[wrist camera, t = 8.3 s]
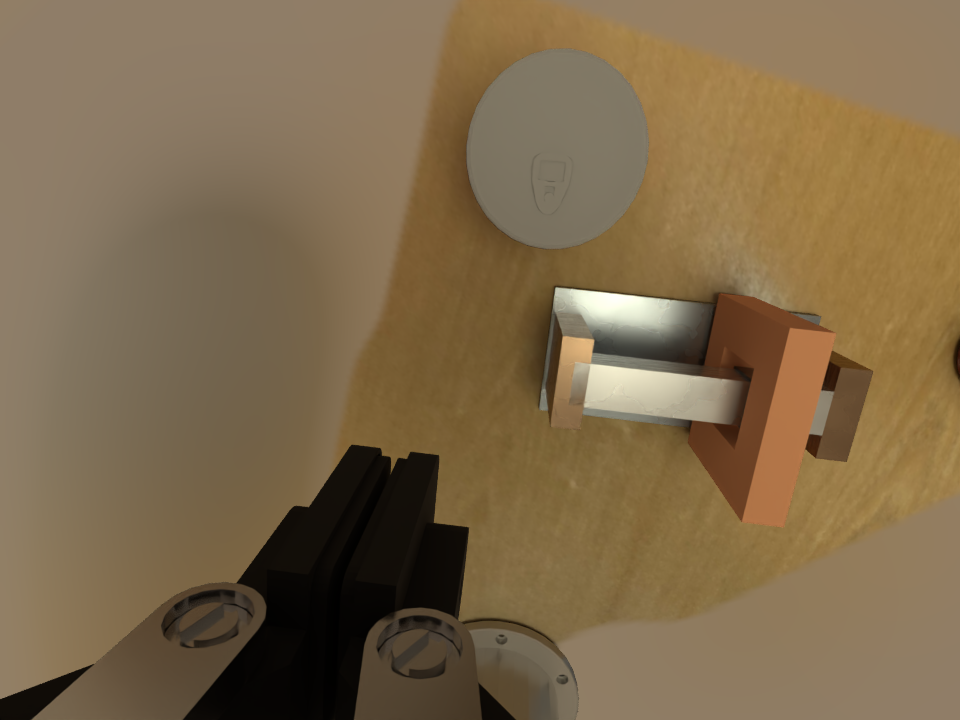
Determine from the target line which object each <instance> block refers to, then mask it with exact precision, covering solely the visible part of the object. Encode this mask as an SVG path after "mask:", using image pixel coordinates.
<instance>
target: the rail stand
mask: <svg viewBox="0 0 960 720" xmlns="http://www.w3.org/2000/svg"><path fill="white" fill-rule="evenodd" d="M716 307H717V304H715V303H706V302H696V301H687V300H678V299H669V298H660V297H651V296H642V295H633V294H624V293H615V292H606V291H596V290H587V289H578V288H569V287H560V286H555V291H554V299H553V306H552V313H551V321H550V328H549V336H548V343H547V350H546V358H545V365H544V372H543V380H542V387H541V394H540V402H539V410H546V411H548V414H549V422H550V427H556V428H565V429H573V430H580V427H581V421H582V415H588V416H597V417H605V418H614V419H622V420H631V421H639V422H647V423H656V424H664V425H673V426H681V427H690V428H691V425H692V420H695V421H703V422H712V423H720V424H729V425H737V426H738V427H739V428H740V426H741V422H742V418H743V413H744V409H745V405H746V401H747V396H748V392H749V388H750V384H751V379H752V375H753V371H754V369H753V368H749V367H740V366H734V369H729V368H720V367H711V366H704V364H705V359H706V354H707V350H708V345H709V340H710V335H711V331H712V326H713V321H714V317H715V312H716ZM789 313H791V314H794V315H796V316H798V317H801V318H803V319H805V320H807V321H810V322H812V323H814V324H817V325H819V323H820V319H821V316H818V315H815V314H805V313H796V312H789ZM872 374H873V371H872V370H870V369H868V368H866V367H864V366H862V365H860V364H858V363H856V362H854V361H852V360H850V359H848V358H846V357H844V356H842V355H840V354H838V353H836V352H834V351H832V352H831V355H830V359H829V363H828V366H827V370H826V374H825V378H824V381H823V385H822V389H821V392H820V396H819V400H818V403H817V407H816V411H815V414H814V418H813V422H812V425H811V429H810V433H809V437H808V440H807V444H806V448H805V449H806V450H807V451H808V452H809V453H810V454H812V455H813V456H814V457H815V458H818V459H826V460H835V461H843V462H847V459H848V456H849V452H850V449H851V446H852V442H853V439H854V435H855V432H856V429H857V425H858V422H859V418H860V415H861V412H862V408H863V405H864V401H865V398H866V395H867V391H868V388H869V384H870V381H871V378H872Z"/></svg>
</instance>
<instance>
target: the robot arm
mask: <svg viewBox="0 0 960 720" xmlns="http://www.w3.org/2000/svg"><path fill="white" fill-rule="evenodd" d="M438 469H439V455H433V454H424V453H416V452H410V454H409V456H408V458H407V459H403V458H398V460H397V462H396V464H395V466H394V468H393V470H392V472H391V458H390V457H387V456H382V451H381V448H375V447H367V446H359V445H351V446H350V447H349V449H348V450H347V452H346V453H345V455H344V456H343V458H342V459H341V461H340V462H339V464H338V465H337V467H336V468H335V470H334V471H333V473H332V474H331V475H330V477H329V478H328V480H327V481H326V483H325V484H324V486H323V487H322V489H321V490H320V492H319V493H318V495H317V496H316V498H315V499H314V501H313V502H312V504H311V505H310V506H309V507H302V506H294V507H293V508H292V509H291V510H290V511H289V512H288V514H287V515H286V516H285V518H284V519H283V520H282V522H281V523H280V525H279V526H278V527H277V529H276V530H275V531H274V533H273V534H272V535H271V537H270V538H269V539H268V541H267V542H266V544H265V545H264V546H263V548H262V549H261V550H260V552H259V553H258V555H257V556H256V557H255V559H254V560H253V561H252V563H251V564H250V565H249V567H248V568H247V569H246V571H245V572H244V574H243V575H242V576H241V578H240V579H239V580H238V582H237V583H228V582H222V583H209V584H205V585H201V586H197V587H193V588H190V589H188V590H185V591H183V592H181V593H179V594H176V595H175V596H173V597H172V598H170V599H169V600H168V601H166V602H165V603H163V604H162V605H161V606H160V607H158V608H157V609H156V610H155V611H154V612H153V613H152V614H150V615H149V616H148V617H147V618H146V619H145V620H144V621H143V622H141V623H140V624H139V625H138V626H137V627H136V628H135V629H134V630H132V631H131V632H130V633H129V634H128V635H127V636H126V637H124V638H123V639H122V640H121V641H120V642H119V643H118V644H117V645H115V646H114V647H113V648H112V649H111V650H110V651H109V652H107V653H106V654H105V655H104V656H103V657H102V658H101V659H100V660H98V661H97V662H96V663H95V664H93V665H90V666H88V667H85V668H82V669H79V670H77V671H74V672H71V673H69V674H66V675H64V676H61V677H58V678H56V679H53V680H50V681H47V682H45V683H42V684H40V685H37V686H34V687H32V688H29V689H26V690H24V691H21V692H18V693H16V694H13V695H11V696H8V697H5V698H2V699H0V720H575V719H576V715H577V712H578V700H579V697H578V688H577V682H576V678H575V675H574V672H573V669H572V667H571V666H570V664H569V662H568V660H567V658H566V657H565V656H564V655H563V653H562V652H561V651H560V650H559V649H558V648H557V646H555V645H554V644H553V643H552V642H550V641H549V640H548V639H547V638H545V637H544V636H542V635H540V634H538V633H537V632H535V631H533V630H531V629H528V628H525V627H523V626H520V625H517V624H513V623H507V622H501V621H479V622H473V623H467V624H464V625H463V623H461V622H460V621H458V617H459V610H460V603H461V595H462V587H463V579H464V570H465V561H466V552H467V543H468V532H469V527H461V526H454V525H446V524H438V523H434V514H435V502H436V491H437V480H438ZM390 473H391V475H390Z"/></svg>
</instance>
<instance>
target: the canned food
mask: <svg viewBox="0 0 960 720" xmlns="http://www.w3.org/2000/svg"><path fill="white" fill-rule="evenodd" d="M648 147H649V138H648V129H647V121H646V118H645V115H644V111H643V108H642V105H641V102H640V100H639V99H638V97H637V95H636V93H635V91H634V89H633V88H632V86H631V85H630V83H629V82H628V81H627V80H626V79H625V78H624V76H623V75H622V74H621V73H620V72H619V71H618V70H617V69H616V68H614V67H613V66H612V65H610V64H609V63H608V62H606V61H605V60H603V59H601V58H599V57H597V56H595V55H592V54H590V53H588V52H584V51H579V50H574V49H549V50H545V51H541V52H537V53H533V54H531V55H529V56H527V57H524V58H522V59H520V60H518V61H516V62H515V63H513V64H512V65H511V66H510V67H508V68H507V69H506V70H504V71H503V72H502V73H501V74H499V76H498V77H497V78H496V79H495V80H494V81H493V83H492V84H491V85H490V86H489V87H488V88H487V90H486V91H485V93H484V95H483V96H482V98H481V100H480V102H479V103H478V105H477V107H476V110H475V113H474V115H473V118H472V121H471V124H470V127H469V133H468V139H467V145H466V165H467V170H468V176H469V181H470V185H471V187H472V190H473V193H474V195H475V198H476V200H477V202H478V204H479V205H480V207H481V209H482V210H483V212H484V213H485V215H486V216H487V217H488V219H489V220H490V221H491V222H492V223H493V224H494V225H495V226H496V227H497V228H498V229H499V230H500V231H502V232H503V233H505V234H506V235H507V236H509V237H510V238H512V239H514V240H516V241H518V242H521V243H523V244H525V245H527V246H532V247H537V248H541V249H564V248H568V247H573V246H578V245H580V244H583V243H585V242H587V241H590V240H592V239H594V238H596V237H597V236H599V235H600V234H602V233H603V232H605V231H606V230H608V229H609V228H611V227H612V226H613V225H614V224H615V223H616V222H617V221H618V220H619V219H620V218H621V217H622V216H623V215H624V213H625V212H626V210H627V209H628V207H629V206H630V204H631V203H632V202H633V200H634V199H635V196H636V194H637V192H638V190H639V188H640V185H641V183H642V181H643V177H644V173H645V169H646V165H647V161H648Z"/></svg>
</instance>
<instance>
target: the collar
mask: <svg viewBox="0 0 960 720" xmlns="http://www.w3.org/2000/svg"><path fill="white" fill-rule="evenodd" d="M835 337H836V333H835V332H833V331H830V330H828V329H826V328H823V327H821V326H819V325H817V324H814V323H812V322H810V321H807V320H805V319H803V318H801V317H798V316H796V315H794V314H791V313H789V312H787V311H784V310H782V309H780V308H778V307H775V306H773V305H771V304H768V303H766V302H764V301H762V300H759V299H757V298H755V297H749V296H740V295H731V294H721V293H719V298H718V302H717V307H716V312H715V317H714V321H713V326H712V331H711V335H710V340H709V345H708V350H707V354H706V359H705V364H704V366H711V367H720V368H729V369H734V366H740V367H749V368H753V369H754V371H753V375H752V379H751V384H750V388H749V392H748V396H747V401H746V405H745V409H744V413H743V418H742V422H741V426H740V428H739V427H738V426H737V425H729V424H720V423H712V422H703V421H695V420H692V425H691V430H690V434H689V439H688V443H689V445H690V446H691V448H692V449H693V451H694V452H695V454H696V455H697V457H698V458H699V460H700V461H701V463H702V464H703V466H704V467H705V469H706V470H707V472H708V473H709V475H710V476H711V477H712V479H713V480H714V482H715V483H716V485H717V486H718V488H719V489H720V491H721V492H722V494H723V495H724V497H725V498H726V500H727V501H728V503H729V504H730V506H731V507H732V508H733V510H734V511H735V513H736V514H737V516H738V517H739V519H740V520H741V522H744V523H752V524H761V525H769V526H777V527H784V525H785V521H786V518H787V514H788V510H789V507H790V503H791V499H792V495H793V492H794V488H795V484H796V481H797V477H798V473H799V470H800V466H801V462H802V459H803V455H804V451H805V448H806V444H807V440H808V437H809V433H810V429H811V425H812V422H813V418H814V414H815V411H816V407H817V403H818V400H819V396H820V392H821V389H822V385H823V381H824V378H825V374H826V370H827V366H828V363H829V359H830V355H831V352H832V348H833V344H834V341H835Z"/></svg>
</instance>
